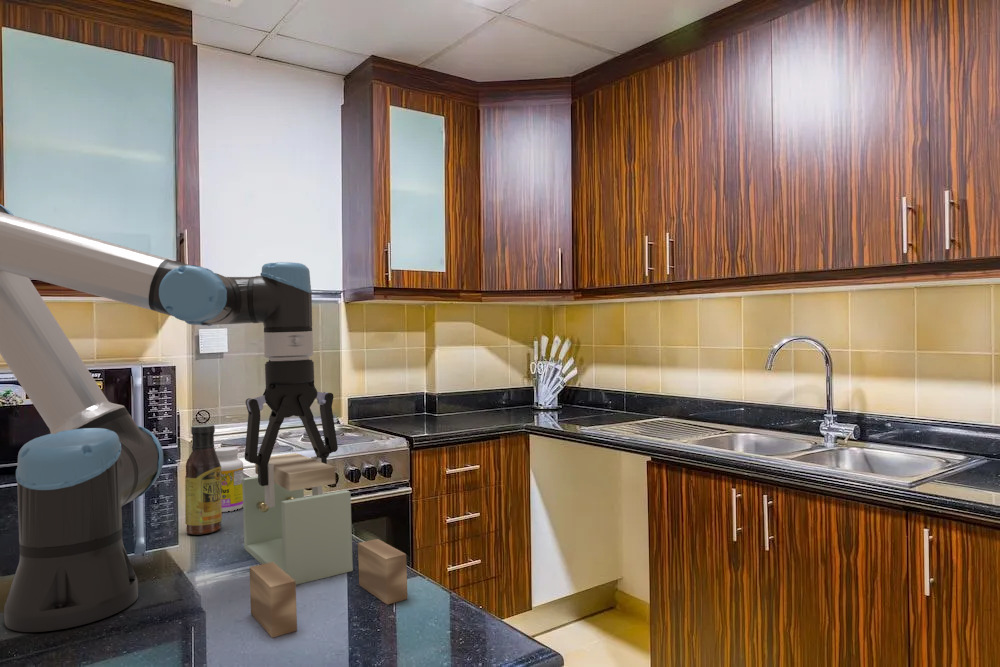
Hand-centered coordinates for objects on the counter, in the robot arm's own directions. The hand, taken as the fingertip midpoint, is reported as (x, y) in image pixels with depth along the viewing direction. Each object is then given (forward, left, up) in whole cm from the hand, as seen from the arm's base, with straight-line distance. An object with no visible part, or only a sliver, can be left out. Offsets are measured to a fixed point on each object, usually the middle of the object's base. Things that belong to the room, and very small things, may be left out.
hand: (294, 500), depth 107 cm
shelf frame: (0, 0, -9) cm, 9 cm away
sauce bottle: (+7, +28, -10) cm, 30 cm away
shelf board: (0, 0, +4) cm, 4 cm away
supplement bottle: (+21, +37, -10) cm, 44 cm away
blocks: (-13, -18, -9) cm, 24 cm away
